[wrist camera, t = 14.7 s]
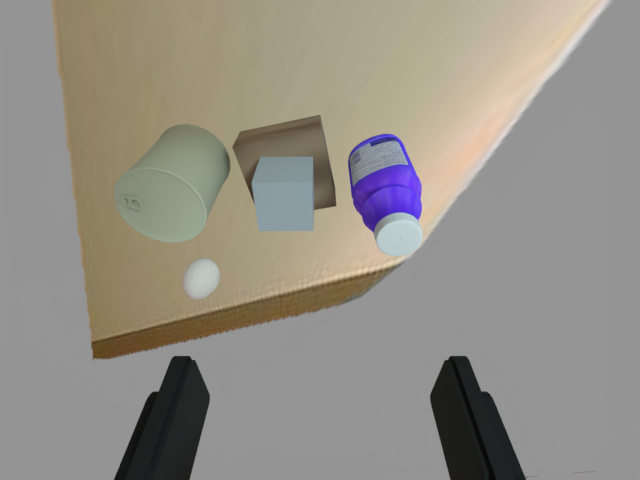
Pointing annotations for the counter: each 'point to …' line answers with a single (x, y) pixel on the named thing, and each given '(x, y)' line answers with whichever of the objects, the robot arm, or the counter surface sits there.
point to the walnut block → (289, 153)
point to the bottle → (387, 193)
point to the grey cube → (284, 193)
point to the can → (174, 184)
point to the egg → (201, 278)
